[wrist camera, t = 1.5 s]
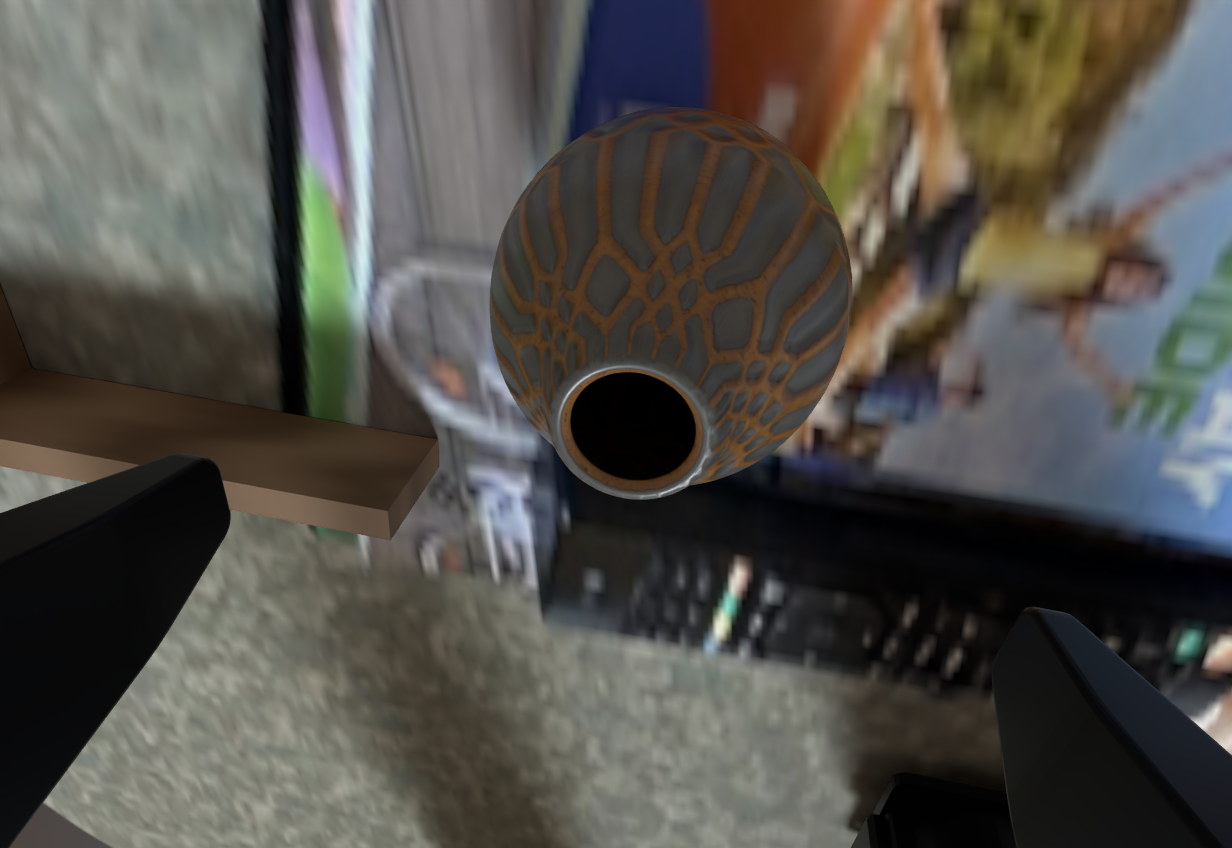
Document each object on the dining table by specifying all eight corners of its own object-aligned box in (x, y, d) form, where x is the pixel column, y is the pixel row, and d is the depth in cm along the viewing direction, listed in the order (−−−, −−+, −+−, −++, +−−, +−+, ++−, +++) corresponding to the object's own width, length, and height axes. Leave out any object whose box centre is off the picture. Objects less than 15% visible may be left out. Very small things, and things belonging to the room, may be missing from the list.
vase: (561, 60, 16) (387, 125, 8) (876, 117, 15) (984, 240, 8) (535, 341, 19) (398, 559, 12) (787, 395, 19) (806, 654, 12)
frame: (406, -215, 14) (309, -271, 11) (439, 466, 22) (390, 540, 19) (-256, -273, 15) (-503, -336, 12) (14, 390, 24) (-92, 448, 21)
